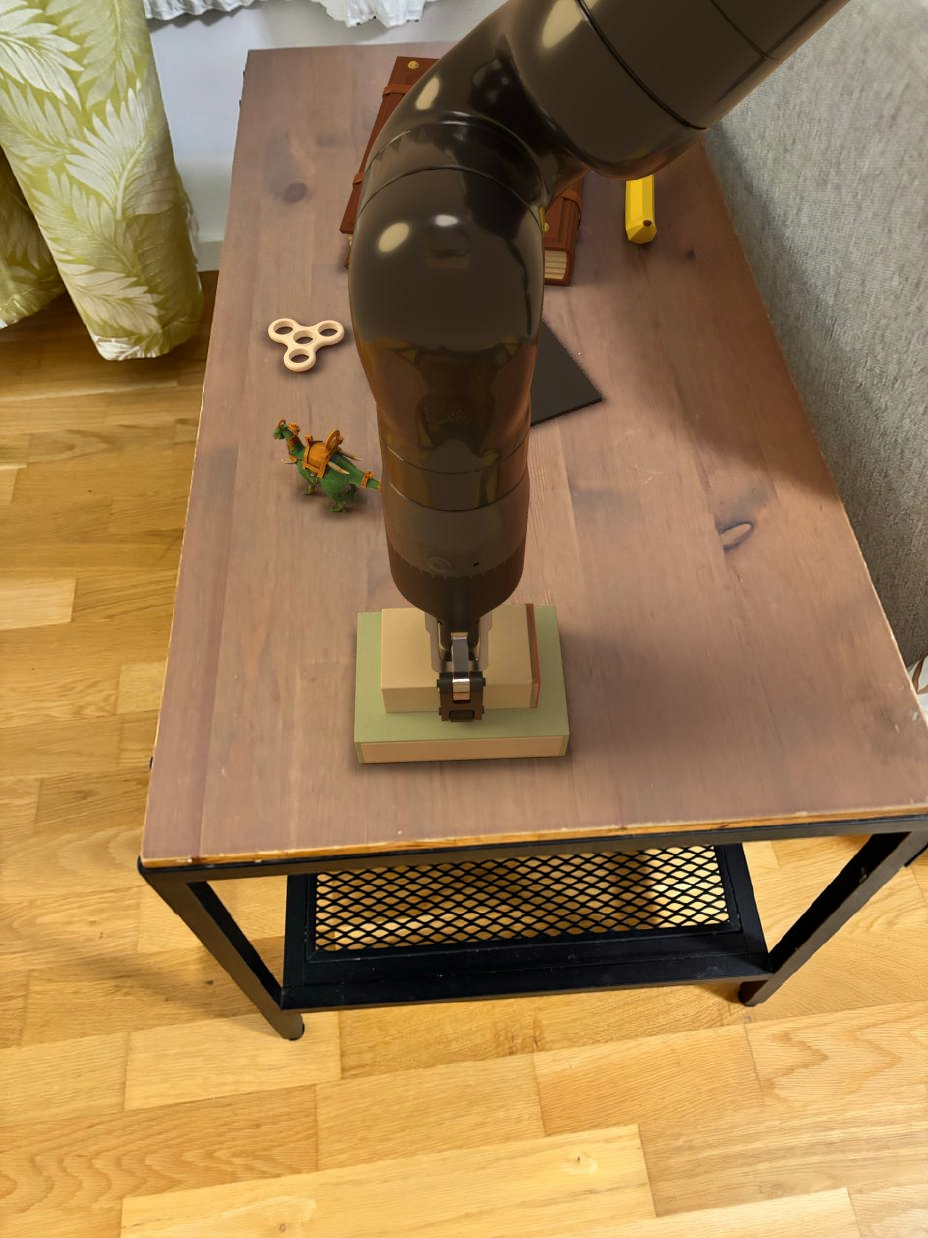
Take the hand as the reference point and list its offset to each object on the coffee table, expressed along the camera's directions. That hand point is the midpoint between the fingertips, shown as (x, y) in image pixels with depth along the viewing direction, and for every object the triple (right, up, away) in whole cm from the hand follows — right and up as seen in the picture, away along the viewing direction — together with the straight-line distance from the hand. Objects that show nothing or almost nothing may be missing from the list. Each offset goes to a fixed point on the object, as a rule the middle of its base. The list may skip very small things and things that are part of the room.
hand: (459, 669), depth 62 cm
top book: (0, 0, 0) cm, 0 cm away
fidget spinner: (-14, +28, +22) cm, 38 cm away
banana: (+18, +44, +32) cm, 57 cm away
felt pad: (+5, +26, +21) cm, 34 cm away
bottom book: (0, -2, +3) cm, 4 cm away
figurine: (-10, +13, +13) cm, 20 cm away
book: (+2, +50, +36) cm, 61 cm away
